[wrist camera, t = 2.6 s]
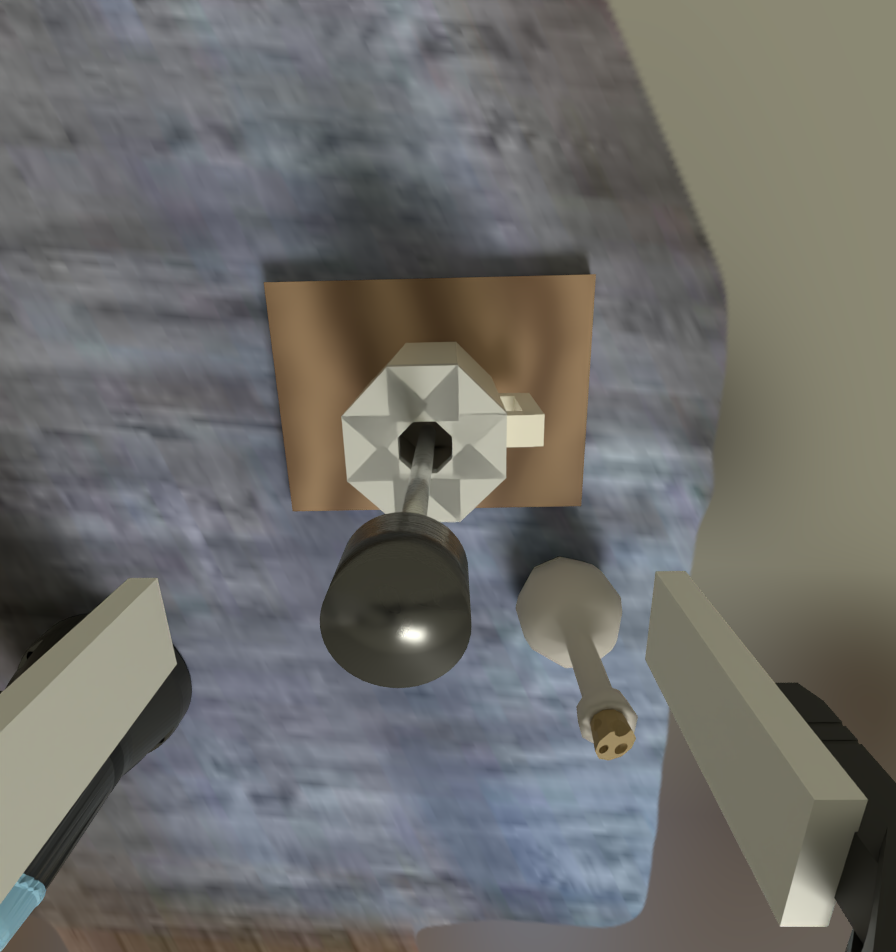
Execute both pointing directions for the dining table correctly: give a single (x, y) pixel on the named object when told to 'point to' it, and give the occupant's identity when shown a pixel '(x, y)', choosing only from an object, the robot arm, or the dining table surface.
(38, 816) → the robot arm
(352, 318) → the board
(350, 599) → the plunger
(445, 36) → the dining table surface
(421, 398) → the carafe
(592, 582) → the potion bottle
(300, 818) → the dining table surface
